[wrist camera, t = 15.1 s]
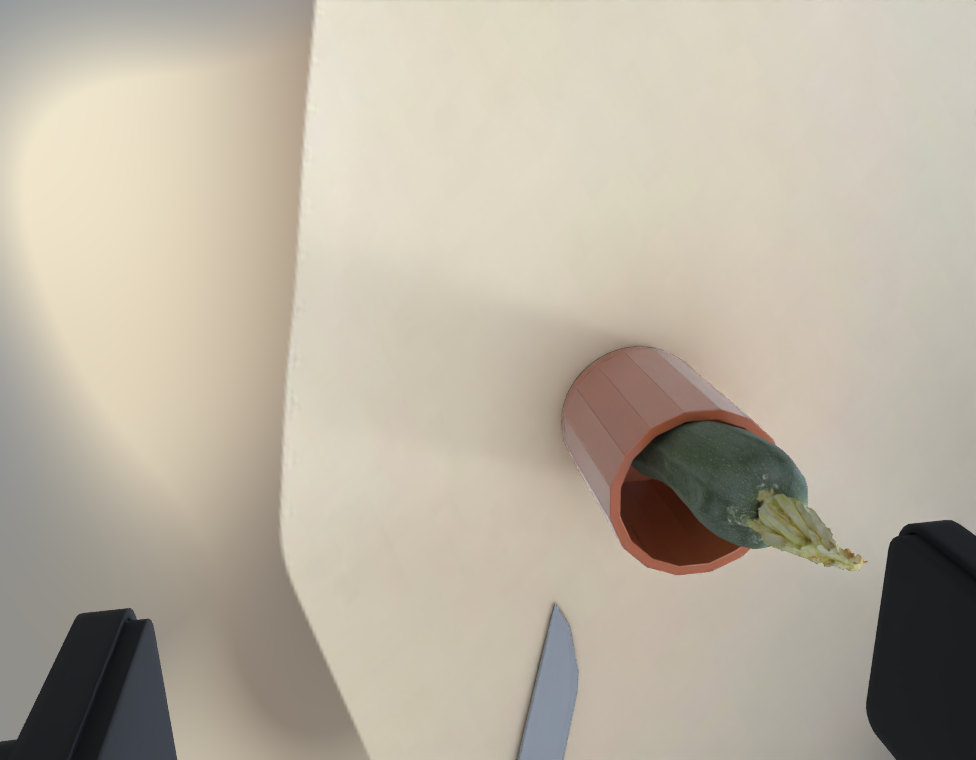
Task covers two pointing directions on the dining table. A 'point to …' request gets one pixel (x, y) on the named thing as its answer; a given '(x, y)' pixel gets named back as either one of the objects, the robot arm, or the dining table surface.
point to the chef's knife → (552, 695)
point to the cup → (626, 432)
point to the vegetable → (742, 490)
